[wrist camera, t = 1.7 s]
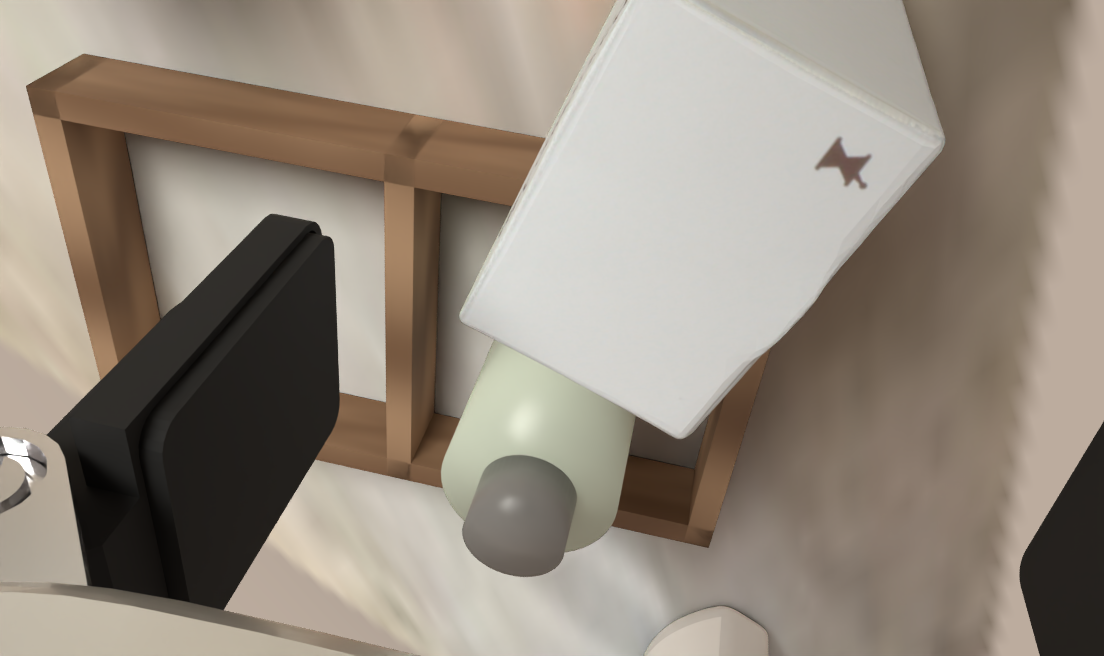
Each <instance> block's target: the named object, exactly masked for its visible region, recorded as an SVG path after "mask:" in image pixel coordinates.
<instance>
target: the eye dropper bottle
mask: <svg viewBox="0 0 1104 656" xmlns="http://www.w3.org/2000/svg"><path fill="white" fill-rule="evenodd" d="M644 656H768V634H767V632H766V631H765V630H764V629H763V627H762V626H760V625H759V624H757V623H756V622H754V621H753V620H751V619H749V618H748V617H746V616H745V615H743V614H741V613H740V612H738V611H736V610H735V609H732V608H729V607H727V606H716V607H711V608H707V609H703V610H700V611H697V612H694V613H691V614H688V615H686V616H684V617H682V618H680V619H678V620H676V621H674V622H672V623H671V624H669V625H668V626H667V627H665V628H664V629H663V630H662V631H661V632H660V633H659V634H658V635H657V636H656V637H655V638H654V639H653V640H652V642H651V643H650V645H649V646H648V648H647V650H646V652H645V654H644Z"/></svg>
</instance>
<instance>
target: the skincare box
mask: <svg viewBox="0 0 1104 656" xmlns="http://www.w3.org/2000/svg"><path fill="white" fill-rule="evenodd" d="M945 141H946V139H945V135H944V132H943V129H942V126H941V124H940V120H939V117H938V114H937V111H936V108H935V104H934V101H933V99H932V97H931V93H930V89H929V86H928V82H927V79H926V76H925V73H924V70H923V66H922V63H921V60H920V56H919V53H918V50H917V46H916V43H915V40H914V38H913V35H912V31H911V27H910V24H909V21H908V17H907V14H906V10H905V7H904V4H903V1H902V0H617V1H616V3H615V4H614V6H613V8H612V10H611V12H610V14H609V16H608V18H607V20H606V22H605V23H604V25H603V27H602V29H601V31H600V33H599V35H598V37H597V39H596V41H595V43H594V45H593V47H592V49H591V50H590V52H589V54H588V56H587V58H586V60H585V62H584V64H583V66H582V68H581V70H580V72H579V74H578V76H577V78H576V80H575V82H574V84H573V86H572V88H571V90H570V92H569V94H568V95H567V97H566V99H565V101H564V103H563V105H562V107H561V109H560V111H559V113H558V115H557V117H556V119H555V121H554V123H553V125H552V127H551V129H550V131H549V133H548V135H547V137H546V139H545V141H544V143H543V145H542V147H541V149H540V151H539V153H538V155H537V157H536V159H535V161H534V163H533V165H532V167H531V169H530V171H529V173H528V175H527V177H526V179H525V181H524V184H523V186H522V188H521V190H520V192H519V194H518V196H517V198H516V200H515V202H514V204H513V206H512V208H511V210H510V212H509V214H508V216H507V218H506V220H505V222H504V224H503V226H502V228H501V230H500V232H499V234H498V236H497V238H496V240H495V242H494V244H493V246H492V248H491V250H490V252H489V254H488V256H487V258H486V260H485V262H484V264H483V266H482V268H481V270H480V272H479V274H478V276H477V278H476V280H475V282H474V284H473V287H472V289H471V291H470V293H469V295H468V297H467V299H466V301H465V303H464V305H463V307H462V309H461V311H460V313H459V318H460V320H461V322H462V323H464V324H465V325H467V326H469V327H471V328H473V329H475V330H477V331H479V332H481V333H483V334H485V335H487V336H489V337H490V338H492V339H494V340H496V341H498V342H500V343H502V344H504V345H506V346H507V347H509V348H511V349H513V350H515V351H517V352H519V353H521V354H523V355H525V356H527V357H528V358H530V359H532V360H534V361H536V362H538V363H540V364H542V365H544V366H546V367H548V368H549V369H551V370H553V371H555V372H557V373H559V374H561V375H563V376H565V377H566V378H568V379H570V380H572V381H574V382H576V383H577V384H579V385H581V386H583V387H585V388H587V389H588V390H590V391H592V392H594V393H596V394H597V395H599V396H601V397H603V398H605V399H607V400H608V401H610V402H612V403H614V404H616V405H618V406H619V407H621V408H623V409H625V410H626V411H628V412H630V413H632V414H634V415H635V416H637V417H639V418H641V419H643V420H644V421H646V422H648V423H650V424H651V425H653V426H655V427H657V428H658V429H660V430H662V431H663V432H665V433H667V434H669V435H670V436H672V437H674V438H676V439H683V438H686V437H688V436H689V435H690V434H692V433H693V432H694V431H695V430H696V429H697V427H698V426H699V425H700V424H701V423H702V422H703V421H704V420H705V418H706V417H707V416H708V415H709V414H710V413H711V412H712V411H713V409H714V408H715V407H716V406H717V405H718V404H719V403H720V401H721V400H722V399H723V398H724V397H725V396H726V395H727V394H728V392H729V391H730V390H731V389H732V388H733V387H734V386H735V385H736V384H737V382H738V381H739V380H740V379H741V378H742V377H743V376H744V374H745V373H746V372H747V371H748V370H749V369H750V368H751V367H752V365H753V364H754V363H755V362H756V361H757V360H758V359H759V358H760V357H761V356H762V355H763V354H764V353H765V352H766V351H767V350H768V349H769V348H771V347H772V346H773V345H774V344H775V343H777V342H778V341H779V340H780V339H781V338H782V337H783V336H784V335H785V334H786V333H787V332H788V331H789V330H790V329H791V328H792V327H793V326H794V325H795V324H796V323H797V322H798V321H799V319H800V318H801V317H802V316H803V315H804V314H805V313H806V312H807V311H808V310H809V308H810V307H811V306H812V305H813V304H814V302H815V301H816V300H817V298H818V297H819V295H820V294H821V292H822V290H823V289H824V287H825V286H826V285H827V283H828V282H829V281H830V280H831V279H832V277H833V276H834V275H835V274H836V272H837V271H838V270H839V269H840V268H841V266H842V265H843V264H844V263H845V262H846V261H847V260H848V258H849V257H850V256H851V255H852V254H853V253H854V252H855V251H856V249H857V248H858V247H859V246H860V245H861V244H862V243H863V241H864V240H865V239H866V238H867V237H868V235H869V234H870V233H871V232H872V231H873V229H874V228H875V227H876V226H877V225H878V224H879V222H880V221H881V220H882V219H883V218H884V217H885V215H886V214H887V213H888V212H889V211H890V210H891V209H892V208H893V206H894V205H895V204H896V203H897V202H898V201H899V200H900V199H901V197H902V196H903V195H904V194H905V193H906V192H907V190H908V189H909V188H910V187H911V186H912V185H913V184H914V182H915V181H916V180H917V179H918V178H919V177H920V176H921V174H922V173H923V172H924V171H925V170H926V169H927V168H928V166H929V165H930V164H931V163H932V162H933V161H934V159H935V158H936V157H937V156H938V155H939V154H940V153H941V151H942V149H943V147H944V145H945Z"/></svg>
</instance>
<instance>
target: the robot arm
mask: <svg viewBox="0 0 1104 656" xmlns="http://www.w3.org/2000/svg"><path fill="white" fill-rule="evenodd" d="M339 406H340V395H339V368H338V340H337V313H336V285H335V258H334V244H333V241H332V239H331V238H330V237H328V236H323V235H322V233H321V229H320V227H319V225H318V224H317V223H316V222H312V221H307V220H302V219H297V218H292V217H287V216H282V215H277V214H270V215H268V216H267V217H265V218H264V219H263V220H262V221H261V222H260V223H259V224H258V225H257V226H256V227H255V228H254V229H253V230H252V231H251V232H250V233H249V234H248V235H247V237H246V238H245V239H244V240H243V241H242V242H241V243H240V244H239V245H238V246H237V247H236V248H235V249H234V250H233V251H232V252H231V253H230V254H229V255H228V256H227V257H226V258H225V259H224V260H223V261H222V262H221V263H220V264H219V265H218V266H217V267H216V268H215V269H214V270H213V271H212V272H211V273H210V274H209V275H208V276H207V277H206V278H205V279H204V280H203V281H202V282H201V283H200V284H199V285H198V286H197V287H196V288H195V289H194V290H193V291H192V292H191V293H190V294H189V295H188V296H187V297H186V298H185V299H184V300H183V301H182V302H181V303H179V304H178V305H177V306H175V307H174V308H173V309H171V310H170V311H169V312H168V313H167V314H166V315H165V316H164V317H163V318H162V319H161V320H160V321H159V322H158V323H157V324H156V325H155V326H154V327H153V328H152V329H151V330H150V331H149V332H148V333H147V334H146V335H145V336H144V337H143V338H142V339H141V340H140V341H139V342H138V343H137V344H136V345H135V346H134V347H133V348H132V349H131V350H130V351H129V352H128V353H127V354H126V355H125V356H124V357H123V358H122V359H121V360H120V361H119V362H118V364H117V365H116V366H115V367H114V368H113V369H112V370H111V371H110V372H109V373H108V374H107V375H106V376H105V377H104V378H103V379H102V380H101V381H100V382H99V383H98V384H97V385H96V386H95V387H94V388H93V389H92V390H91V391H90V392H89V393H88V394H87V395H86V396H85V397H84V398H83V399H82V400H81V401H80V402H79V403H78V404H77V405H76V406H75V407H74V408H73V409H72V410H71V411H70V412H69V413H68V414H67V415H66V416H65V417H64V418H63V419H62V420H61V421H60V422H59V423H58V424H57V425H56V426H55V427H54V428H53V429H52V430H51V431H50V432H49V433H48V434H47V435H45V434H43V433H40V432H36V431H33V430H30V429H27V428H14V427H0V656H419V655H414V654H410V653H406V652H402V651H398V650H394V649H389V648H385V647H381V646H377V645H373V644H368V643H365V642H361V641H356V640H352V639H348V638H343V637H339V636H335V635H331V634H327V633H323V632H319V631H314V630H310V629H305V628H301V627H296V626H291V625H287V624H283V623H279V622H274V621H269V620H265V619H261V618H255V617H252V616H247V615H243V614H238V613H234V612H229V611H224V608H225V607H226V605H227V603H228V602H229V600H230V598H231V597H232V595H233V593H234V592H235V590H236V589H237V587H238V585H239V583H240V582H241V580H242V579H243V577H244V575H245V574H246V572H247V570H248V569H249V567H250V565H251V564H252V562H253V561H254V559H255V557H256V556H257V554H258V552H259V551H260V549H261V547H262V546H263V544H264V543H265V541H266V539H267V538H268V536H269V534H270V533H271V531H272V529H273V528H274V526H275V524H276V523H277V521H278V520H279V518H280V516H281V515H282V513H283V511H284V510H285V508H286V506H287V505H288V503H289V501H290V500H291V498H292V497H293V495H294V493H295V492H296V490H297V488H298V487H299V485H300V483H301V482H302V480H303V478H304V477H305V475H306V473H307V472H308V470H309V469H310V467H311V465H312V464H313V462H314V460H315V459H316V457H317V455H318V454H319V452H320V450H321V449H322V447H323V446H324V444H325V442H326V441H327V439H328V437H329V436H330V434H331V432H332V430H333V428H334V426H335V424H336V421H337V417H338V413H339ZM1020 584H1021V589H1022V592H1023V595H1024V600H1025V603H1026V607H1027V611H1028V614H1029V617H1030V621H1031V625H1032V629H1033V632H1034V636H1035V640H1036V643H1037V647H1038V651H1039V654H1040V656H1104V422H1103V424H1102V425H1101V427H1100V429H1099V430H1098V432H1097V434H1096V435H1095V437H1094V438H1093V440H1092V442H1091V443H1090V445H1089V447H1088V448H1087V450H1086V452H1085V453H1084V455H1083V457H1082V458H1081V460H1080V462H1079V463H1078V465H1077V467H1076V468H1075V470H1074V472H1073V473H1072V475H1071V477H1070V478H1069V480H1068V481H1067V483H1066V485H1065V486H1064V488H1063V490H1062V491H1061V493H1060V495H1059V496H1058V498H1057V500H1056V501H1055V503H1054V505H1053V506H1052V508H1051V510H1050V511H1049V513H1048V515H1047V516H1046V518H1045V519H1044V521H1043V523H1042V525H1041V526H1040V528H1039V529H1038V531H1037V533H1036V534H1035V536H1034V538H1033V540H1032V541H1031V543H1030V544H1029V546H1028V548H1027V549H1026V551H1025V553H1024V555H1023V557H1022V561H1021V565H1020Z"/></svg>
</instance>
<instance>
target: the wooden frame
mask: <svg viewBox="0 0 1104 656" xmlns="http://www.w3.org/2000/svg"><path fill="white" fill-rule="evenodd" d="M26 88H27V92H28V96H29V100H30V104H31V108H32V112H33V116H34V120H35V124H36V128H37V131H38V135H39V139H40V143H41V147H42V151H43V155H44V159H45V163H46V167H47V171H48V175H49V179H50V183H51V187H52V190H53V194H54V198H55V202H56V206H57V210H58V214H59V218H60V222H61V226H62V230H63V234H64V238H65V242H66V246H67V249H68V253H69V257H70V261H71V265H72V269H73V273H74V277H75V281H76V285H77V289H78V293H79V297H80V301H81V305H82V308H83V312H84V316H85V320H86V324H87V328H88V332H89V336H90V340H91V344H92V348H93V352H94V356H95V360H96V364H97V367H98V371H99V375H100V379H101V380H102V379H103V378H104V377H105V376H106V375H107V374H108V373H109V372H110V371H111V370H112V369H113V368H114V367H115V366H116V365H117V364H118V362H119V361H120V360H121V359H122V358H123V357H124V356H125V355H126V354H127V353H128V352H129V351H130V350H131V349H132V348H133V347H134V346H135V345H136V344H137V343H138V342H139V341H140V340H141V339H142V338H143V337H144V336H145V335H146V334H147V333H148V332H149V331H150V330H151V329H152V328H153V327H154V326H155V325H156V324H157V323H158V322H159V321H160V316H159V311H158V306H157V301H156V296H155V291H154V285H153V280H152V275H151V270H150V265H149V259H148V254H147V249H146V244H145V239H144V234H143V228H142V223H141V218H140V213H139V208H138V203H137V197H136V192H135V187H134V182H133V177H132V172H131V166H130V161H129V156H128V151H127V146H126V141H125V135H124V132H127V133H133V134H138V135H143V136H148V137H153V138H159V139H164V140H169V141H174V142H180V143H185V144H190V145H195V146H200V147H206V148H211V149H216V150H221V151H227V152H232V153H237V154H242V155H247V156H253V157H258V158H263V159H268V160H274V161H279V162H284V163H289V164H294V165H300V166H305V167H310V168H315V169H321V170H326V171H331V172H336V173H341V174H347V175H352V176H357V177H362V178H368V179H373V180H378V181H383V182H384V220H385V324H386V403H385V402H381V401H376V400H372V399H367V398H362V397H358V396H353V395H348V394H344V393H339V395H340V406H339V413H338V417H337V421H336V424H335V426H334V428H333V430H332V432H331V434H330V436H329V437H328V439H327V441H326V442H325V444H324V446H323V447H322V449H321V450H320V452H319V454H318V455H317V457H316V460H320V461H324V462H329V463H333V464H338V465H342V466H347V467H351V468H356V469H360V470H364V471H369V472H373V473H378V474H382V475H387V476H391V477H396V478H400V479H405V480H409V481H413V482H418V483H422V484H427V485H431V486H436V487H440V488H443V486H442V481H441V468H442V463H443V460H444V457H445V454H446V452H447V450H448V447H449V445H450V443H451V440H452V438H453V435H454V433H455V431H456V428H457V426H458V424H459V421H460V419H459V418H455V417H450V416H445V415H441V414H436V413H434V400H435V369H436V338H437V307H438V277H439V246H440V215H441V193H446V194H451V195H456V196H462V197H467V198H472V199H477V200H482V201H488V202H493V203H498V204H503V205H508V206H513V204H514V202H515V200H516V198H517V196H518V194H519V192H520V190H521V188H522V186H523V184H524V181H525V179H526V177H527V175H528V173H529V171H530V169H531V167H532V165H533V163H534V161H535V159H536V157H537V155H538V153H539V151H540V149H541V147H542V145H543V143H544V141H545V139H546V138H540V137H535V136H530V135H524V134H519V133H513V132H508V131H502V130H497V129H491V128H486V127H480V126H475V125H470V124H464V123H459V122H453V121H448V120H442V119H437V118H431V117H426V116H420V115H415V114H409V113H404V112H399V111H393V110H388V109H382V108H377V107H371V106H366V105H360V104H355V103H349V102H344V101H339V100H333V99H328V98H322V97H317V96H311V95H306V94H300V93H295V92H289V91H284V90H279V89H273V88H268V87H262V86H257V85H251V84H246V83H240V82H235V81H229V80H224V79H219V78H213V77H208V76H202V75H197V74H191V73H186V72H180V71H175V70H169V69H164V68H158V67H153V66H148V65H142V64H137V63H131V62H126V61H120V60H115V59H109V58H104V57H98V56H93V55H88V54H82V55H80V56H79V57H77V58H75V59H73V60H71V61H70V62H68V63H66V64H64V65H63V66H61V67H59V68H57V69H55V70H54V71H52V72H50V73H48V74H46V75H45V76H43V77H41V78H39V79H37V80H36V81H34V82H32V83H30V84H29V85H27V86H26ZM770 349H771V348H769V349H768V350H767V351H766V352H765V353H764V354H763V355H762V356H761V357H760V358H759V359H758V360H757V361H756V362H755V363H754V364H753V365H752V367H751V368H750V369H749V370H748V371H747V372H746V373H745V374H744V376H743V377H742V378H741V379H740V380H739V381H738V382H737V384H736V385H735V386H734V387H733V388H732V389H731V390H730V391H729V392H728V394H727V395H726V396H725V397H724V398H723V399H722V400H721V401H720V403H719V404H718V405H717V406H716V407H715V408H714V409H713V411H712V412H711V413H710V415H709V418H708V422H707V425H706V429H705V433H704V436H703V440H702V444H701V447H700V451H699V454H698V458H697V462H696V465H695V469H690V468H686V467H681V466H676V465H672V464H667V463H662V462H658V461H653V460H649V459H644V458H639V457H635V456H630V455H628V459H627V464H626V469H625V474H624V479H623V484H622V490H621V495H620V500H619V505H618V510H617V514H616V517H615V520H614V522H613V524H612V525H611V526H614V527H618V528H622V529H627V530H631V531H636V532H640V533H645V534H649V535H654V536H658V537H663V538H667V539H671V540H676V541H680V542H685V543H689V544H694V545H698V546H703V547H707V548H709V545H710V542H711V539H712V535H713V532H714V529H715V526H716V523H717V519H718V516H719V513H720V510H721V506H722V503H723V500H724V497H725V494H726V490H727V487H728V484H729V481H730V478H731V474H732V471H733V468H734V465H735V462H736V458H737V455H738V452H739V449H740V446H741V442H742V439H743V436H744V433H745V429H746V426H747V423H748V420H749V417H750V413H751V410H752V407H753V404H754V401H755V397H756V394H757V391H758V388H759V385H760V381H761V378H762V375H763V372H764V369H765V365H766V362H767V359H768V356H769V352H770Z"/></svg>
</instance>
